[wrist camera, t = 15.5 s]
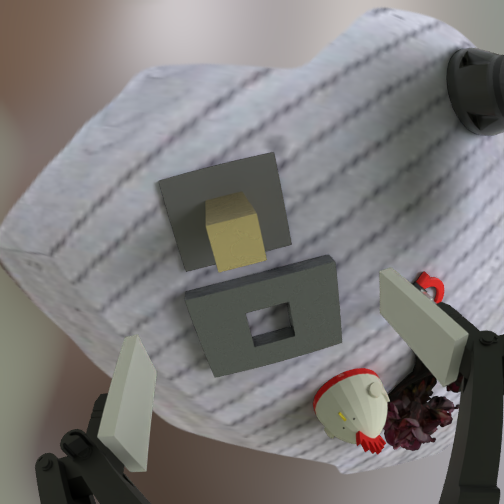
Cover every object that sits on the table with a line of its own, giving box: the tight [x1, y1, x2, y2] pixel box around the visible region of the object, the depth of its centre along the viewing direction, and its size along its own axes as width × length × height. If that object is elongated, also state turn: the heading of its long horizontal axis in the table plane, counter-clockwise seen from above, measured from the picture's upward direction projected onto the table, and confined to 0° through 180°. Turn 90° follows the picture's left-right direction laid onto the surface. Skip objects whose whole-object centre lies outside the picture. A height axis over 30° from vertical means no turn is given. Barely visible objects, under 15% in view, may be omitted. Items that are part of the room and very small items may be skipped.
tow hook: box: [413, 272, 444, 304], centre depth 43 cm, size 8×13×9 cm
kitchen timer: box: [313, 368, 390, 454], centre depth 47 cm, size 14×14×15 cm
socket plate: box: [185, 254, 342, 377], centre depth 44 cm, size 20×14×2 cm
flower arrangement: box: [383, 310, 473, 451], centre depth 50 cm, size 31×20×15 cm, turn 154°
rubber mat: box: [159, 152, 292, 272], centre depth 38 cm, size 14×12×1 cm
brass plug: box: [205, 192, 267, 272], centre depth 33 cm, size 4×4×11 cm
